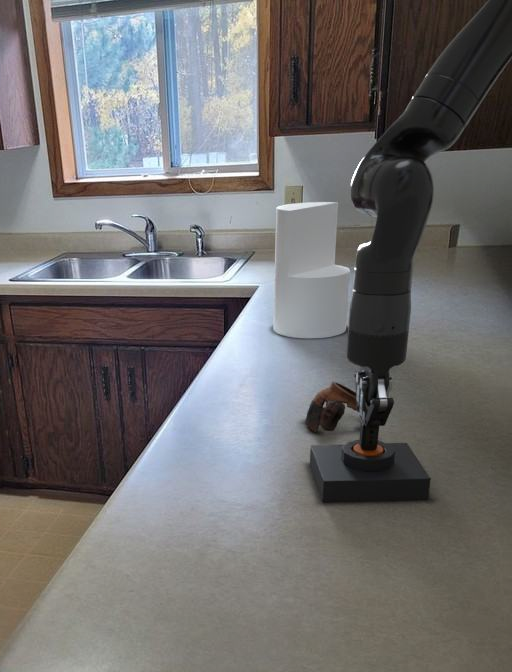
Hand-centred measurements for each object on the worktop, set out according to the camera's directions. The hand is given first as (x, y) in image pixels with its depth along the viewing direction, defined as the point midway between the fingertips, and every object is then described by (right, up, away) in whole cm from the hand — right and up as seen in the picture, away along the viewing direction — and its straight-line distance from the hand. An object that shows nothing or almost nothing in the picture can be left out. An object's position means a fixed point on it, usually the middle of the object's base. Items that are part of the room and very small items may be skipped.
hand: (367, 448), depth 102 cm
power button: (0, -2, +1) cm, 2 cm away
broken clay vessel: (0, +4, +20) cm, 21 cm away
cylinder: (+8, +32, +76) cm, 83 cm away
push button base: (0, -5, +2) cm, 5 cm away
